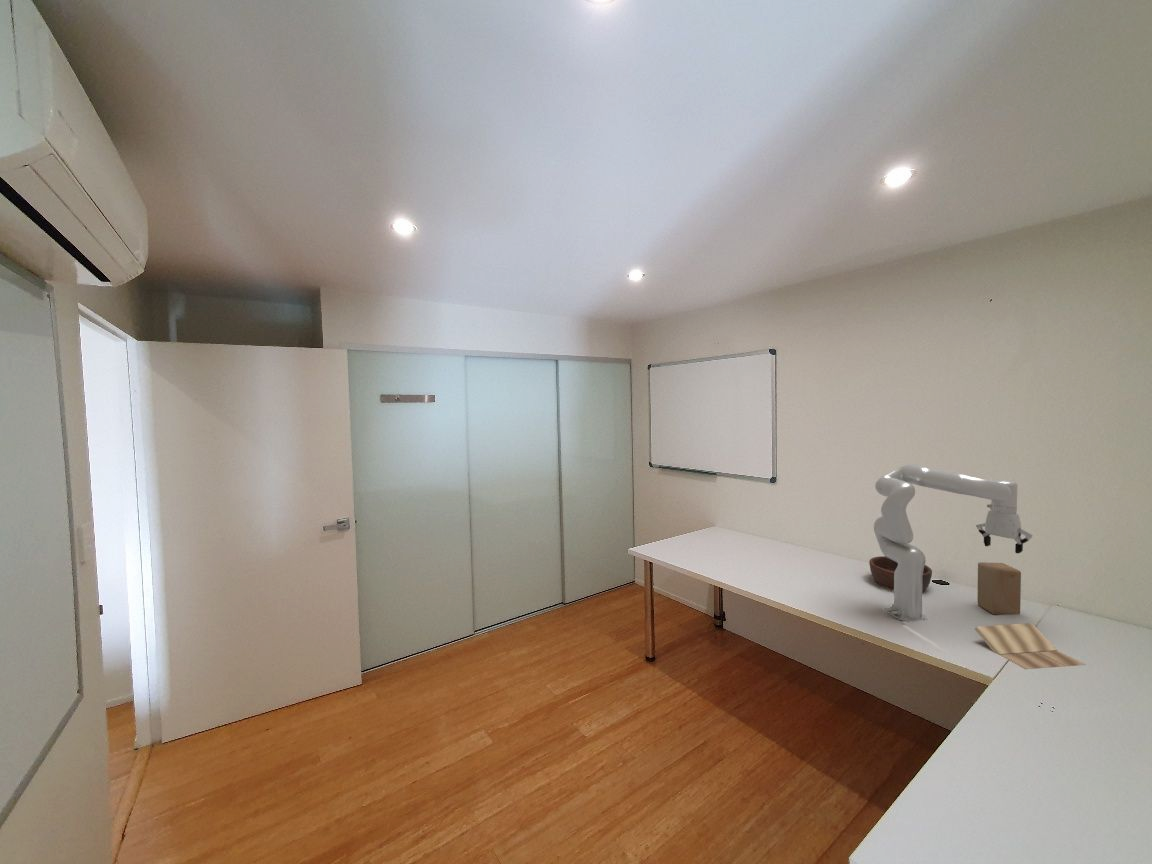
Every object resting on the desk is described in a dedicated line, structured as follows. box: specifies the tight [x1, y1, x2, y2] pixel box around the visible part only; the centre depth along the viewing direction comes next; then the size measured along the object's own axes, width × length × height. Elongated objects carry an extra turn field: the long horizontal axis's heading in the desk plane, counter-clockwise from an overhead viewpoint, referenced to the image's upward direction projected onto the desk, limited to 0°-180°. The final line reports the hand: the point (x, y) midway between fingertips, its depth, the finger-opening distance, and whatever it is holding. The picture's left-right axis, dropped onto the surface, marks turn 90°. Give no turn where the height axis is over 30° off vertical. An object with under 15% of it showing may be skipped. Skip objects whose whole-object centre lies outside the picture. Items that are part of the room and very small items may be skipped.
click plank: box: [974, 622, 1058, 656], centre depth 153 cm, size 22×10×1 cm
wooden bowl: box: [868, 555, 933, 592], centre depth 209 cm, size 25×25×10 cm
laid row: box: [1000, 650, 1087, 670], centre depth 144 cm, size 22×8×1 cm, turn 93°
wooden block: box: [977, 561, 1022, 616], centre depth 180 cm, size 10×10×20 cm
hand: (1002, 549), depth 175 cm, fingers open, 9 cm apart
